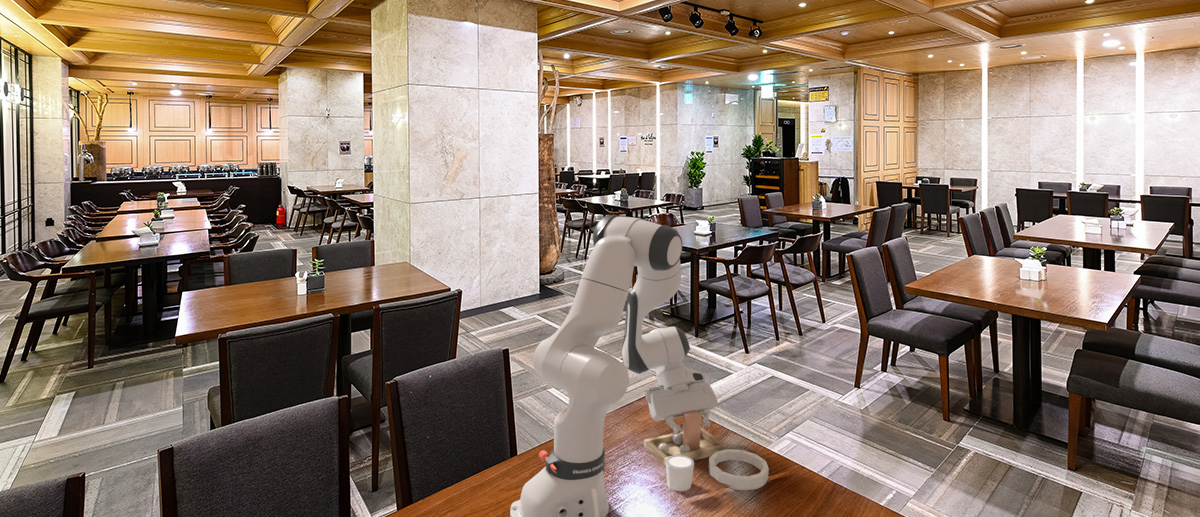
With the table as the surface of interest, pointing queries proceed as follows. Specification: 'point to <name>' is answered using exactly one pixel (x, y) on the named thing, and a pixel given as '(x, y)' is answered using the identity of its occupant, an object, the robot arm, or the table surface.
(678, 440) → the pebble
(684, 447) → the pebble
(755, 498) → the table surface
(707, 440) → the parts tray
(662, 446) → the pebble
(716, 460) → the bowl
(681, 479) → the shot glass
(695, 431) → the peach cylinder
